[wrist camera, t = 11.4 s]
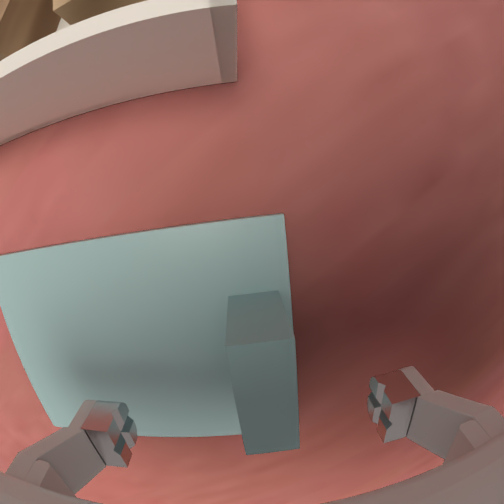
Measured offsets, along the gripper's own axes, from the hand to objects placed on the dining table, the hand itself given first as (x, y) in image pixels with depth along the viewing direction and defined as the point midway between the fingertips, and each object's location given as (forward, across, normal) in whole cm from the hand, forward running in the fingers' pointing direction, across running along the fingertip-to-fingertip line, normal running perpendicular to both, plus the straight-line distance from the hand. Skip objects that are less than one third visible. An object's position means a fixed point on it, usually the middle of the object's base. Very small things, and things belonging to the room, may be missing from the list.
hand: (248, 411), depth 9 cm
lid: (+5, +5, 0) cm, 7 cm away
